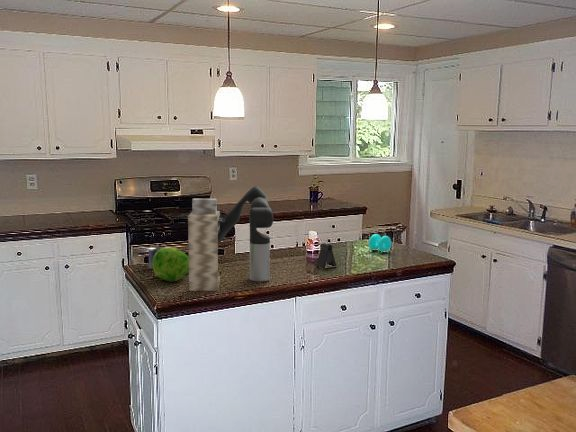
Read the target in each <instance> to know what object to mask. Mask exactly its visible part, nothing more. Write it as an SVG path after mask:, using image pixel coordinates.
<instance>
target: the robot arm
mask: <svg viewBox="0 0 576 432" xmlns="http://www.w3.org/2000/svg"><path fill="white" fill-rule="evenodd" d="M247 202H248V203H249V204H250V209H249V212H248V213H249V214H248V215H249V217H248V218H249V220H248V221H249V280H250V281H252V282H267V281H270V280H271V279H270V278H271V277H270V275H271V274H270V273H271V260H270V259H271V257H270V256H271V246H270V245H271V238H270V236H269V235H267V234H264V233H262V232H260V231H259V230H257V229H268V228H270V227H272V225H273V223H274V219H275V218H274V212H273V210H272V208H271V207H270V204H269V197H268V196H267V194H266V193H264V191H263V190H262V189H261V188H260V187H259V186H258V185H257V186H256V185H255V186H253V187H251V188H250V189H249V190H248V191H247V192H246V193H244V195H243V196H242V197H241V199H240V200H239V201H238V202H237V203H236V204H235V205H234V206H233V208H232V209H231V210H230V211H229V212H228V213H227V214H226V213H222V211H220V216H219V218H218V244H221V242H223V240H224V239H225V237H226V235H227V233H229V232H230V230H231V229H232V228H234V226H235V225H237V223H238V222H239V221H240V218H241V215H242V210H243V209H244V206H245V204H246V203H247Z"/></svg>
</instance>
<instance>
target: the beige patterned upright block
mask: <svg viewBox="0 0 576 432" xmlns="http://www.w3.org/2000/svg"><path fill="white" fill-rule="evenodd" d="M220 212H221V210H217V213H216V214H192V211H191V212H190V213H189V214H188V215H187V223H188V225H187V227H188V229H187V231H188V232H187V233H188V234H187V236H188V240H187V241H188V242H187V243H188V257H189V272H188V291H189V292H191V291H192V292H194V291H197V292H201V291H205V292H206V291H208V292H209V291H211V292H213V291H216V292H217V291H218V290H219V286H220V282H221V276H220V275H219V268H218V266H219V254H218V252H219V249H218V248H219V247H218V246H219V245H218V218H219V216H220Z"/></svg>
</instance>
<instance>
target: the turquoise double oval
mask: <svg viewBox="0 0 576 432" xmlns="http://www.w3.org/2000/svg"><path fill="white" fill-rule="evenodd" d="M368 247H369V249H370V250H371V249H376V248H379V249H378V251H379V252H380V251H385V250H389V249H390V250H391V248H392V239H391V237H390V236H388V235H383V236H382V237H381V235H380V234H377V233H374V234H372V235H371V236H370V238H369V240H368ZM390 250H389V251H390Z"/></svg>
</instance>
